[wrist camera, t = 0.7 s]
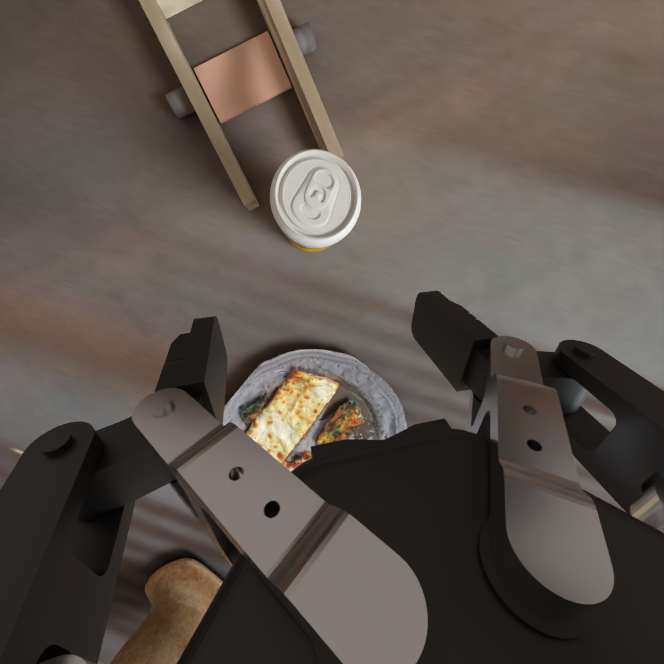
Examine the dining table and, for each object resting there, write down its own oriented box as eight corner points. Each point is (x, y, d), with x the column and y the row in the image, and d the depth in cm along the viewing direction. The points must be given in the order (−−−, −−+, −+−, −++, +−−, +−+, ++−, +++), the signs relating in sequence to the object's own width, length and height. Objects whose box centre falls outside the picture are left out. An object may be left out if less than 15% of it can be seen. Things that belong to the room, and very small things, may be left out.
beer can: (274, 237, 33) (252, 218, 19) (298, 184, 32) (293, 121, 18) (323, 261, 34) (338, 262, 20) (347, 212, 33) (381, 174, 19)
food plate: (318, 543, 43) (319, 566, 40) (179, 459, 39) (167, 477, 35) (433, 416, 41) (445, 429, 38) (300, 310, 36) (300, 314, 33)
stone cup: (127, 581, 42) (34, 750, 28) (196, 539, 42) (138, 689, 27) (196, 642, 46) (145, 819, 31) (260, 603, 45) (239, 766, 31)
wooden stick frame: (271, -54, 27) (266, -98, 24) (356, 158, 32) (362, 146, 29) (128, 20, 28) (104, -14, 24) (233, 219, 32) (225, 214, 29)
